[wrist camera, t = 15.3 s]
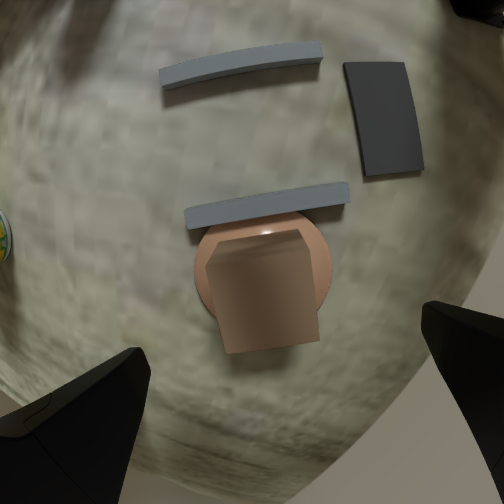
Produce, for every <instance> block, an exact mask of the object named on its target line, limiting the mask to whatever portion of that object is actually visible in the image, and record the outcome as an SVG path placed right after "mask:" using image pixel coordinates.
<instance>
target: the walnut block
mask: <svg viewBox="0 0 504 504" xmlns="http://www.w3.org/2000/svg"><path fill="white" fill-rule="evenodd" d="M205 270H206V275H207V279H208V283H209V287H210V291H211V296H212V300H213V304H214V308H215V312H216V316H217V320H218V324H219V328H220V332H221V335H222V339H223V343H224V347H225V351H226V354H233V353H241V352H249V351H257V350H265V349H272V348H279V347H286V346H292V345H298V344H304V343H310V342H316V341H320V337H319V326H318V316H317V306H316V297H315V288H314V279H313V271H312V263H311V255H310V249H309V248H308V246H307V244H306V242H305V240H304V238H303V237H302V235H301V233H300V231H299V229H293V230H286V231H280V232H274V233H268V234H262V235H256V236H250V237H244V238H238V239H232V240H226V241H220V242H218V244H217V246H216V248H215V249H214V251H213V253H212V255H211V257H210V258H209V260H208V262H207V264H206V266H205Z"/></svg>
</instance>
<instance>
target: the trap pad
mask: <svg viewBox="0 0 504 504" xmlns="http://www.w3.org/2000/svg"><path fill="white" fill-rule="evenodd" d="M343 66H344V70H345V74H346V79H347V83H348V87H349V92H350V96H351V101H352V106H353V111H354V116H355V121H356V126H357V132H358V137H359V143H360V149H361V156H362V162H363V169H364V176H372V175H380V174H389V173H398V172H408V171H419V170H424V162H423V155H422V147H421V141H420V134H419V128H418V123H417V117H416V112H415V107H414V102H413V97H412V93H411V88H410V84H409V80H408V76H407V72H406V68H405V64H404V62H344V64H343Z"/></svg>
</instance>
